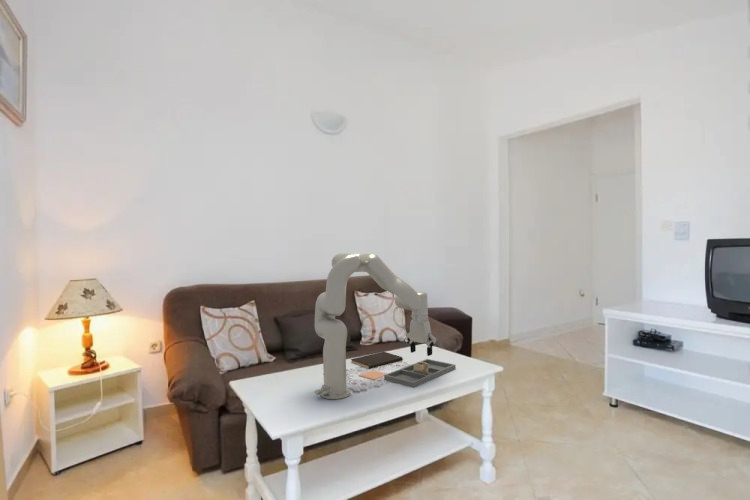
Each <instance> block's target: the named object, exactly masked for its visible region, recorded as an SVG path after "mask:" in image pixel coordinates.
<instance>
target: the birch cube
mask: <svg viewBox="0 0 750 500" xmlns="http://www.w3.org/2000/svg"><path fill="white" fill-rule="evenodd" d="M413 364H414V372H416V373H420V374H424V375H427V374H428V363H424V362H420V361H417V362H415V363H413Z"/></svg>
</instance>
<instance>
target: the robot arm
mask: <svg viewBox="0 0 750 500" xmlns="http://www.w3.org/2000/svg"><path fill="white" fill-rule="evenodd" d="M331 267H332V268H331V269H330V270H329V273H328V274H327V277H326V284H325V285H326V286H325V291H324V292H321V293H320V294H319V295H318V296H317V299H316V301H315V309H314V331H315V334H316V335H317V336H318V337H320V338H322V339H324V344H323V348H322V358H323V360H322V361H323V362H322V363H323V384H322V385H321V388H319V389H316V390H315V391H314V394H315V395H316V396H318V395H320V396H321V397H322V399H327V400H340V399H344V398H347V397H349V396H350V395H351V389H350V388H348V387H347V354H346V353H347V351H346V350H347V339H348V328H347V326H346V324H345V323H344V322H343V321H342V320H341V319H336V317H338V316H341V315H342V314H343V313H344V312H345V310H346V304H347V303H346V302H347V301H346V300H347V299H346V298H347V284H348V281H349V279H350V277H351V276H352V275H353V274H354V273H361V272H362V273H367V274H368V275H369V276H370V277H371V278H372V279H373V280H374V281H375V282H376V284H377V285H378V286H379V287H380V288H381V289H382V290H385V291H386V292H389V293H391V294H393V295H395V298H394V304H395V305H396V307H397V308H400V309H403V310H408V311H411V315H410V318H411V320H410V323H409V332H407V333H406V334H405V337H406V340H407V342H408V344H409V345H410V348H409V349H410V353H412V354H413V353H416V350H417V349H416V343H420V344H426V346H427V347H426V355H427V357H430V356H432V355H433V347H434V345H435V344H436V342H437V337H435V336H434V335H433V334H432V330H431V329H432V328H431V323H430V321H429V311H428V310H429V308H428V304H429V303H428V293H427V292H425V291H416V290H415V289H414V287H412V286H411V285H410V284H409V283H407V282H406V281H404V279H402V278H400V277H399V276H398V275H396V274H395V273H394V272H393V271H392V270H391V269H390V268H389V266H388V265H387V264H385V262H384V261H383V260H382V259H381V258H380V257H379V256H378V255H377V254H375V253H349V252H348V253H347V252H345V253H337V254H335V255H334V256H333V257H332V259H331Z"/></svg>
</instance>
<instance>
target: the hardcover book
mask: <svg viewBox="0 0 750 500" xmlns="http://www.w3.org/2000/svg"><path fill="white" fill-rule="evenodd" d="M403 360H404V359H403V356H400V355H396V354H393V353H391V352H388V351H387V352H386V351H380V352H375V353H372V354H366V355H363V356H358V357H355V358H351V359H350V362H351V363H352V364H354V365H358V366H360V367H363V368H366V369H369V370H370V369H375V368H377V367H382V366H387V365H390V363H391V364H393V363H397V362H401V361H403Z"/></svg>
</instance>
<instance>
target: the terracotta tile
mask: <svg viewBox="0 0 750 500" xmlns="http://www.w3.org/2000/svg"><path fill="white" fill-rule="evenodd" d="M386 374H388V373H385V372H382V371H378V370H374V369H372V370H369V371H367V372H363V373H360V374H359V375H358V377H360V378H363V379H367V380H371V381H376V380H378V379H380V378H384V375H386Z"/></svg>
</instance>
